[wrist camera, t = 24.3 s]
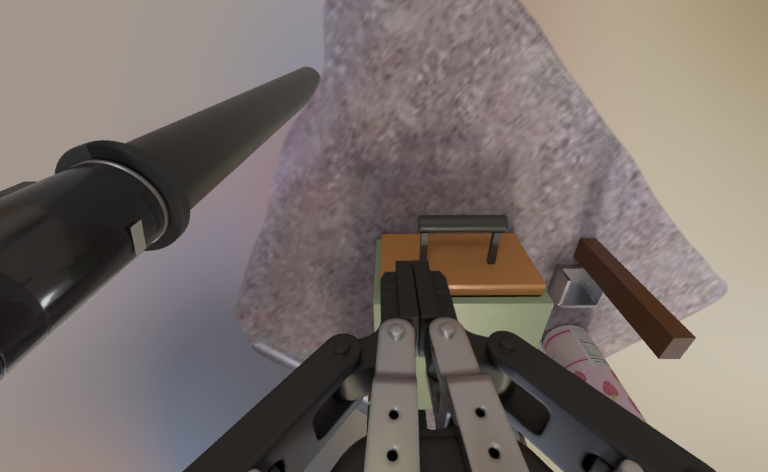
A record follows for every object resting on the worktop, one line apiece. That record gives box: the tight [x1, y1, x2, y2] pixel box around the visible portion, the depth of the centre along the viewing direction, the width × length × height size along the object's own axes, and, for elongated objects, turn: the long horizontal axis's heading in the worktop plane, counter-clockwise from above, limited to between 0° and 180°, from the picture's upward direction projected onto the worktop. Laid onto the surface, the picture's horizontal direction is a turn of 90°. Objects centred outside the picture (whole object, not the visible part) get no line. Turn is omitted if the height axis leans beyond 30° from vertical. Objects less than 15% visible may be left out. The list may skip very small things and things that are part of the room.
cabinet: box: [373, 239, 554, 410], centre depth 34 cm, size 16×15×10 cm
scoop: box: [548, 238, 695, 359], centre depth 30 cm, size 5×8×13 cm, turn 1°
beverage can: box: [542, 325, 647, 423], centre depth 36 cm, size 6×6×15 cm
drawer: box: [381, 215, 546, 297], centre depth 32 cm, size 19×13×8 cm
